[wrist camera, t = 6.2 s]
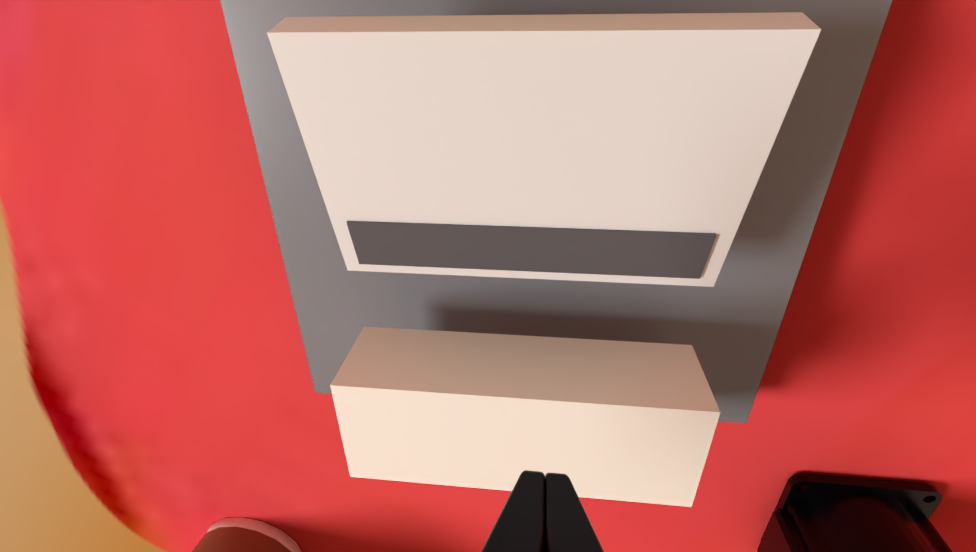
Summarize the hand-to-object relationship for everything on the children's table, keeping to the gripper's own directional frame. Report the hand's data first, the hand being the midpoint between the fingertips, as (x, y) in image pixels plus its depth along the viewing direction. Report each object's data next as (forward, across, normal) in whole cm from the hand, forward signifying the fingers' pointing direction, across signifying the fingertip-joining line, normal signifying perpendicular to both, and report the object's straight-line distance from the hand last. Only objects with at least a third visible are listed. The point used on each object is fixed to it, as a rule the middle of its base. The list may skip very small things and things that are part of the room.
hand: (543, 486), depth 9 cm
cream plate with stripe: (+6, +1, -4) cm, 7 cm away
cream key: (+7, +1, +4) cm, 8 cm away
